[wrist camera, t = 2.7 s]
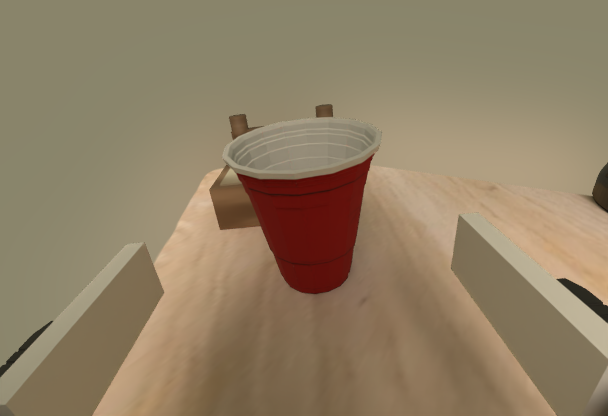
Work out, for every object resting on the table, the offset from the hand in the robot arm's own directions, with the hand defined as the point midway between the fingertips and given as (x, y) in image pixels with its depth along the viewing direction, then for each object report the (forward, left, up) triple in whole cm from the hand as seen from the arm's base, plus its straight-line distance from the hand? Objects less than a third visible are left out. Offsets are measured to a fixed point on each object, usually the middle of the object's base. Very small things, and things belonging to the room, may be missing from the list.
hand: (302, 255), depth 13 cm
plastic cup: (-6, -8, -9) cm, 14 cm away
